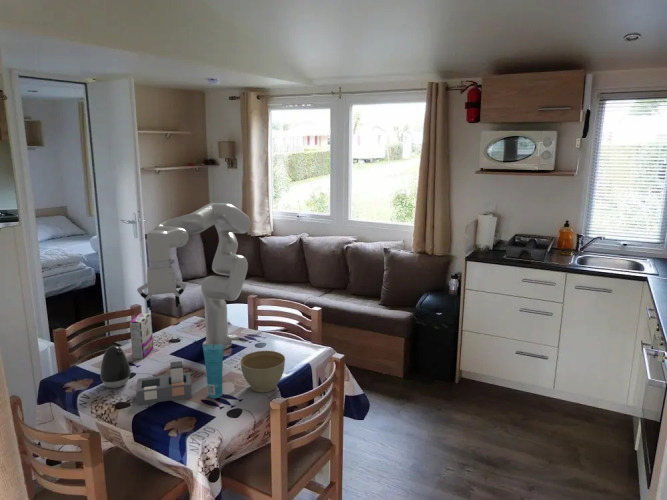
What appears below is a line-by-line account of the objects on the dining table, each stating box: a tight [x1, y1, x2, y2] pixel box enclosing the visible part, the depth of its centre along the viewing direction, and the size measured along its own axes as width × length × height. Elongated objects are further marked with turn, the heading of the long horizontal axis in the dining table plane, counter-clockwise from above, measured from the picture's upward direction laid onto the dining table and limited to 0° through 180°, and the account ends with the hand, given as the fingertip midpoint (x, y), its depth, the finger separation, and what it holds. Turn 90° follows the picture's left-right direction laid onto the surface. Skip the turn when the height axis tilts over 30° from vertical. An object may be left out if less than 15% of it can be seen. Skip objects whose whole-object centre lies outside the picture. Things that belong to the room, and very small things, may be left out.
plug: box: [169, 360, 184, 384], centre depth 176 cm, size 4×4×10 cm
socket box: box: [135, 371, 193, 406], centre depth 175 cm, size 18×10×5 cm, turn 108°
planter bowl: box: [240, 350, 286, 393], centre depth 181 cm, size 16×16×11 cm
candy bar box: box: [128, 312, 155, 360], centre depth 209 cm, size 11×5×16 cm, turn 179°
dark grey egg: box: [100, 345, 131, 389], centre depth 181 cm, size 10×10×15 cm
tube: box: [202, 343, 225, 399], centre depth 174 cm, size 7×5×19 cm, turn 96°
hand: (163, 307), depth 187 cm, fingers open, 9 cm apart
